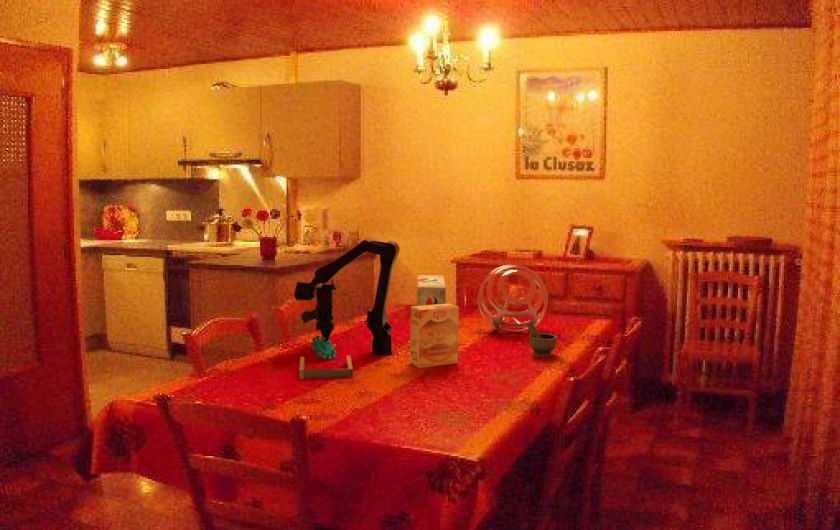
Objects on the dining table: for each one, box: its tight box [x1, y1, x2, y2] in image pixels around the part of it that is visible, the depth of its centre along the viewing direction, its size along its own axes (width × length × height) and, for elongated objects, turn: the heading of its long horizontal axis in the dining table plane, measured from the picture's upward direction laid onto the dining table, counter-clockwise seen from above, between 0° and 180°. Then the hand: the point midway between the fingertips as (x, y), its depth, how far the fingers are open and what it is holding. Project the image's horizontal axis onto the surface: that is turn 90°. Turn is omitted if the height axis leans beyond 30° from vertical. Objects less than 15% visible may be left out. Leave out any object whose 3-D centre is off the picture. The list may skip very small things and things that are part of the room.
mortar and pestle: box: [526, 320, 558, 359], centre depth 262 cm, size 11×9×12 cm
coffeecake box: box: [409, 303, 460, 369], centre depth 249 cm, size 15×7×20 cm, turn 118°
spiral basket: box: [477, 264, 549, 334], centre depth 301 cm, size 28×28×27 cm
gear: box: [310, 335, 337, 361], centre depth 256 cm, size 11×6×10 cm
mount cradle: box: [298, 355, 354, 380], centre depth 240 cm, size 16×17×2 cm
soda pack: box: [416, 274, 447, 306], centre depth 345 cm, size 41×13×14 cm, turn 0°
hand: (325, 344), depth 266 cm, fingers closed
